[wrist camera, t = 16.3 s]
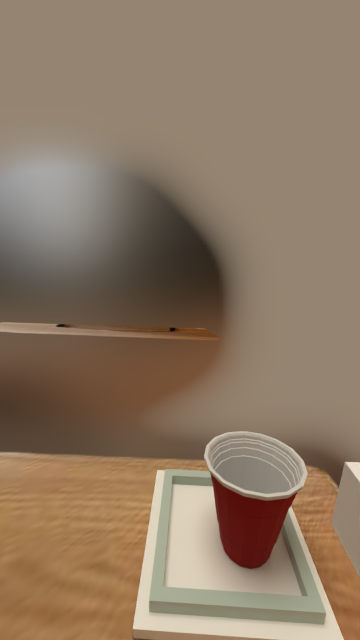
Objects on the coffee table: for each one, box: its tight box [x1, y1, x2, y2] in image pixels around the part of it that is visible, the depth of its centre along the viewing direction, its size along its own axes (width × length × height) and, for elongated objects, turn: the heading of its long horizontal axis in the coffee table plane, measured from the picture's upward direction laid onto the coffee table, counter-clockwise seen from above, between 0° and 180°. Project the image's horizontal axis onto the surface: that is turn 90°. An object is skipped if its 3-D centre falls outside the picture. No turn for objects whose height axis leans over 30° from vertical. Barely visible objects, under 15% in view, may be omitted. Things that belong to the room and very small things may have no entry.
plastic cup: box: [204, 431, 308, 569], centre depth 32 cm, size 11×11×12 cm
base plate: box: [133, 469, 344, 640], centre depth 34 cm, size 19×19×3 cm
